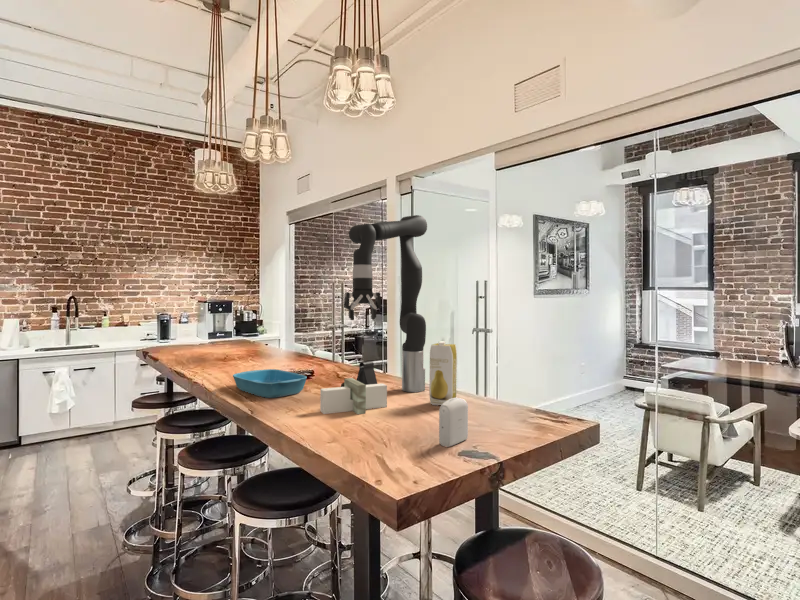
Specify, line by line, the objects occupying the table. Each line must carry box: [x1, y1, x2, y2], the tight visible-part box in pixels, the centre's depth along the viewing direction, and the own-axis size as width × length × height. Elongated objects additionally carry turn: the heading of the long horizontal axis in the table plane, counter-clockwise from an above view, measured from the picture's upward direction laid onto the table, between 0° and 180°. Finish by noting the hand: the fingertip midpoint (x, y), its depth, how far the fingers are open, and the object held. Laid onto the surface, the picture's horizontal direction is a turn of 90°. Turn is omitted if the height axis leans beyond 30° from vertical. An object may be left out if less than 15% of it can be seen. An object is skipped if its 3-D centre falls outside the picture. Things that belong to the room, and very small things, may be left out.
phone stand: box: [356, 360, 378, 385], centre depth 201 cm, size 9×6×12 cm, turn 48°
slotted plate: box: [343, 377, 367, 415], centre depth 165 cm, size 3×14×10 cm, turn 26°
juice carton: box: [428, 340, 458, 406], centre depth 174 cm, size 9×8×24 cm
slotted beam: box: [319, 382, 388, 415], centre depth 166 cm, size 24×4×8 cm, turn 116°
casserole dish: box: [232, 368, 307, 399], centre depth 195 cm, size 37×22×7 cm, turn 45°
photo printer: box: [438, 397, 469, 448], centre depth 130 cm, size 10×4×12 cm, turn 139°
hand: (362, 319), depth 175 cm, fingers open, 8 cm apart
